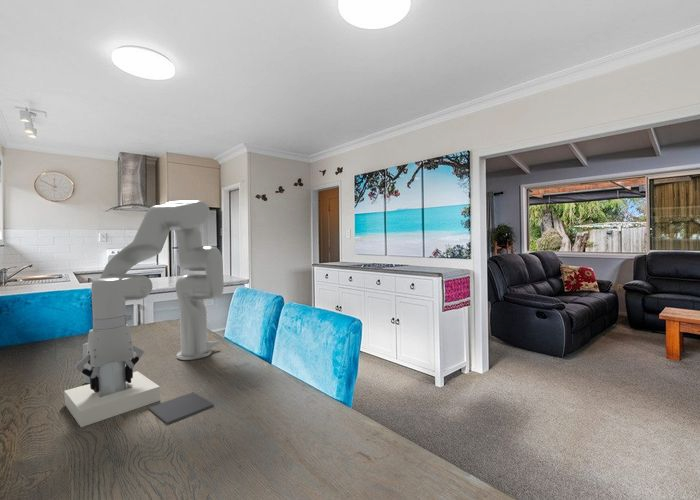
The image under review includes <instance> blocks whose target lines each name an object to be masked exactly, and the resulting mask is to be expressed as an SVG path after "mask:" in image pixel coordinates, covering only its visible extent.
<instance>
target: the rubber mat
mask: <svg viewBox="0 0 700 500" xmlns="http://www.w3.org/2000/svg"><path fill="white" fill-rule="evenodd" d="M213 407H215V404H214V403H212V402H211V401H209V400H207V399H206V398H204V397H202V396H200V395H199V394H197V393H196V392H195V391H193V392H190V393H186V394H183V395H181V396H178V397H175V398H172V399H169V400H166V401H164V402H160V403H158V404H154V405H152V406H149V407H148V411H150V412H151V413H153V414H154V415H155V416H156V417H157V418H159V419H160V420H161V421H162V422H163V423H164V424H166V425H169V424H172V423H174V422H176V421H177V422H178V421H179V420H183V419H184V418H187V417H189V416H192V415H195V414H198V413H200V412H203V411H205V410H208V409H210V408H213Z"/></svg>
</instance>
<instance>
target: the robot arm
mask: <svg viewBox="0 0 700 500" xmlns="http://www.w3.org/2000/svg"><path fill="white" fill-rule="evenodd" d="M210 215H211V211H210V207H209V205H208V204H207V203H206V202H205V201H203V200H173V201H167V202H165V203H163V204H160V205H159V204H158V205H153V206H151V207H149V208H148V210H146V213H145V215H144V216H143V219H142V222H141V223H140V226H139V228H138V229H137V232H136V234H135V236H134V238H133V240H132V242H130V243H129V244H127V245H126V246H125V247H124V248H122V249H121V250H120V251H119V252H117V253H116V254H115V255H114V256H112V257H111V258H110V260H108V262H107V263H106V265H105V267H104V269H103V271H102V272H101V276H100V277H99V278H97V279H95V280H93V281H92V283H91V286H90V287H91V307H92V327H93V328H92V329H89V331H88V335H87V336H88V337H87V343H88V344H87V355H86V356H85V357H84V358H83V357H82V358H81V359H80V360H79V361H78V362H77V363H76V364H75V365H74V368H75V369H76V370H77V371H79V372H80V373H82V374H83V375H84V374H85V375H87V376H88V377H90V383H89V384H90V388H91V390H92V389H93V390H94V391H95V392H98V391H99V378H98V377H97V373H98V371H99V369H100V367H102V366H104V365H105V364H108V363H112V362H117V363H120V362H125V375H126V382H127V383H131V378H133V372H134V371H133V369H134V367H135V365H136V364H137V363H138V362H139V360H140V358H141V357H142V356H143V355H144V353H145V351H144V350H143V349H140V348H139V347H137V346H135V345H134V343H133V337H132V333H131V329H130V326H129V324H128V322H129V321H132V319H133V318H132V315H127V313H126V302H128V301H129V302H130V301H140V300H144V299H145V298H147V297H148V296H149V295H150V294H151V293H152V291H153V282H152V280H151V279H150V278H149V277H147V276H146V275H143V274H128V272H129V270H131V268H133V267H134V266H136V265H138V264H140V263H142V262H145V261H146V260H149V259H151V258H153V257H156V256H157V255H159V254H160V253H161V252H162V250H163V248H164V246H165V244H166V240H167V238H168V236H169V234H170V231H174V232H175V235H176V239H177V254H178V264H179V268H180V269H182V270H183V271H186V272H187V271H188V272H205V273H203V274H201V273H194V274H185V275H181V276H179V278H177V280H176V283H175V292H176V293H175V294H176V296H177V301H178V307H179V331H180V333H179V335H180V336H179V337H180V351H178V352H177V353H176V359H178V360H182V361H194V360H199V359H202V358H206V357H208V356H210V355H211V354H212V352H213V351H212V347H216V346H219V345H220V341H219V340H210V341H209V340H208V325H207V324H208V321H207V320H208V319H207V308H206V305H205V303H204V301H203V300H216V299H218V298H221V296H222V295H223V293H224V286H225V285H224V283H225V282H224V264H223V263H224V262H223V256H222V252H221V251H220V249H219V248H218V247H216V246H213V245H211V246H209V245H206V246H203V241H202V232H201V230H200V229H199V227H198V226H201V225H203V224H205V223H206V222H208V220H209V219H210V217H211V216H210ZM134 352H135V354H134ZM87 362H88V364H90V365H91V366H92V367H91V369H90V370H88V369H86V368H85V367H84V365H85V364H86V363H87Z"/></svg>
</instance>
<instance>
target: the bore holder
mask: <svg viewBox="0 0 700 500" xmlns="http://www.w3.org/2000/svg"><path fill="white" fill-rule="evenodd" d="M159 401H161V386H160V385H159V384H157V383H155V382H154V381H153V380H151V379H149V378H148V377H147V376H145V375H144V374H142V373H141V372H139V371H133V378H131V383H127V382H126V390H123V391H120V392H116V393H113V394H110V395H106V396H103V397H99V394H98V392H95V391H94V390H93V389H92V390H91V388H90V383H87V384H84V385H81V386H77V387H73V388H69V389H65V390H64V405H65V407H66V408H67V410H68V411H69V413H70V414H71V415H72V417H73V419H75V421H76V422H77V424H78V425H79V426H80V428H84V427H86V426H89V425H92V424H96V423H98V422H101V421H104V420H107V419H109V418H112V417H116V416H119V415H121V414H125V413H128V412H131V411H133V410H136V409H139V408H142V407H145V406H147V405H151V404H154V403H157V402H159Z"/></svg>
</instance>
